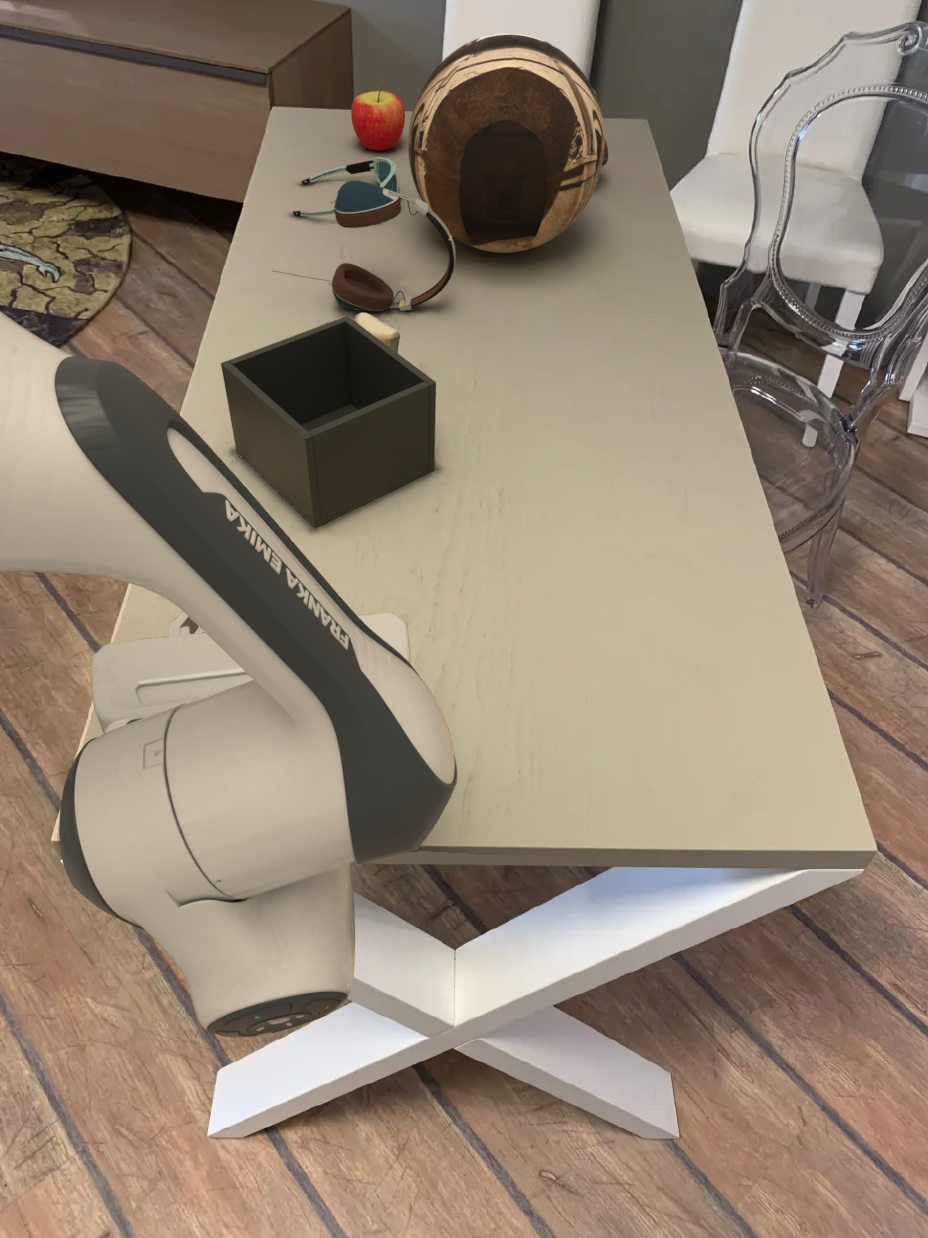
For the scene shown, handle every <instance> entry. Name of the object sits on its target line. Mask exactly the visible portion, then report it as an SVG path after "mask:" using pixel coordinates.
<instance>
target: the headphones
mask: <svg viewBox="0 0 928 1238" xmlns="http://www.w3.org/2000/svg"><path fill="white" fill-rule="evenodd" d="M401 199H403V200H406V201H407V206H408V211H409V215H411V216H415V215H417V214H418V213H420V214H421V215H422V216H423V217H426V218H427V219H428V220H429V221H430V222H431V224H432V225H433V227H434V228H435V229H436V230H437V232H438V233H439V234H440V236H441V239H442V241H444V244H445V246H446V249H447V252H448V257H449V258H448V265H447V269H446V270H445V272H444V274H443V276H442V277H441V278H440V280H439V281H438V282H437V283H436V284H435V285H434V286H433V285H432V287H431V288H429V289H428V290H426V291H424V292H423V293H421V294H419V295H417V296H415V297H411V296H409V297H405V294H404V292H403V291H402V290H398V292H397V293H396V294H394V291H393V289H392V288H391V287H390V285H389V284H387V283H386V282H385V281H384V280H383V279H381V278H380V277H378V276H377V275H375V274H374V273H372V272H371V271H369V270H367V269H365V268H363V267H361V266H359V265H356V264H354V263H349V262H344V263H341V264H339V265H337V267H336V269H335V271H334V274H333V276H332V280H327V279H324V281H326V282H328V285H329V286H330V287H331V290H332V295H333V296H334V299H335V301H336V302H337V303H338V304H339V305H340V306H342V307H344V308H346V309H349V310H354V311H368V312H369V311H370V312H372V311H376V312H377V311H380V312H381V311H386V310H388V309H399V311H400V312H403V311H408V310H409V311H410V310H412V308H413V307H416V306H419V305H422V304H425V303H426V302H428V301H429V300H432V299H433V298H434V297H436V296H437V295H438V294H440V293H442V291H443V289H444V288H445V287H446V286H447V285H448V283H449V282H450V280H451V278H452V275H453V274H454V270H455V266H456V246H455V242H454V238H453V236H452V235H451V234H450V232H449V230H448V229H447V227H446V226H445V224H444V223H443V222H442V220H441V219H440V218H439V217H438V216H437V215H436V214H435V213H434V212H433V211H432V210H430V209H429V208H428V204H427V203H425V202H423V201H422V200H421V198H416V199H414V198H413V197H410V196H409V195H405V194H403V193H400V192H399V193H396V192H393V191H391V190H388V189H386V188H383V187H380V185H377V184H375V183H371V182H367V181H363V180H349V181H346V182H344V183H343V184H342V185H341V186H340V187H339V189H338V190H337V192H336V195H335V198H334V199H332V200H330V204H333V208H334V211H335V214H334V215H335V216H334V217H335V220H336V223H337V224H338V225H339V226H340V227H343V228H347V229H357V228H365V227H371V226H375V225H379V224H382V223H386V222H387V221H388V222H389V221H390V220H392V219H395V218H396V217H397V216H399V215H400V213H401V211H402V203H401ZM410 203H412V204H414V205H413V207H414V209H416V210H417V211H416V212H415V213H412V211H411V208H410ZM273 272H275V273H278V270H277V271H275V270H273ZM279 273H281V274H287V275H290V273H289V272H282V271H279ZM291 275H292V276H296V277H299V275H298V274H294V273H291ZM300 277H301V278H308V279H310V277H308V276H302V275H300ZM311 279H313V280H317V277H316V278H315V277H311ZM319 280H320V281H323V279H322V278H318V281H319ZM400 292H401V294H402V296H403V299H402V300H400V301H399V304H396V303H395V304H393V303H394V301H395V300H396V298H397V296H398V295H399V293H400ZM394 295H395V296H394Z"/></svg>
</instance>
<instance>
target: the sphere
mask: <svg viewBox="0 0 928 1238" xmlns="http://www.w3.org/2000/svg"><path fill="white" fill-rule="evenodd" d="M593 89H594V88H593V86H592V85H591V83H590V80H589V79H588V78H587V76H586V75H585V73H584V72H583V70H582V69H581V68H580V67H579V66H578V64H577V63H576V62H575V61H574V60H573V59H572V58H571V57H570V56H569V55H568V54H566V53H565V52H564V51H562V50H561V49H560V48H559V47H557V46H555V45H553V44H552V43H549V42H548V41H545V40H543V39H541V38H538V37H535V36H532V35H528V34H522V33H513V32H505V33H502V32H501V33H494V34H493V33H492V34H490V35H489V34H488V35H485V36H481V37H479V38H476V39H472V40H471V41H469V42H467V43H465V44H463V45H461V46H460V47H458V48H457V49H455V50H454V51H452V52H451V53H450V54H449V55H447V56H446V57H445V58H444V59H443V60H442V61H441V62H440V63H439V64H438V65H437V66H436V68H434V70H433V71H432V72H431V74H430V75H429V76H428V78H427V79H426V81H425V82H424V84H423V86H422V88H421V90H420V92H419V94H418V96H417V99H416V101H415V104H414V106H413V110H412V114H411V117H410V121H409V122H410V123H409V130H408V140H407V148H408V149H407V151H408V162H409V168H410V173H411V176H412V181H413V183H414V186H415V189H416V192H417V194H418V195H419V199H420V200H421V201H423V202H425V203H427V204H428V208H429V209H430V210H432V211H433V212H434V213H435V214H436V215H437V216H438V217H439V218H440V219H441V220H442V222H443V223H444V224H445V226H446V227H447V229H448V230H449V232H450V234H451V236H452V238H455V239H456V240H458V241H459V242H461V243H463V244H465V245H468V246H470V247H473V248H475V249H477V250H482V251H485V252H490V253H498V254H499V253H501V254H502V253H503V254H504V253H505V254H508V253H519V252H523V251H529V250H530V249H534V248H537V247H540V246H542V245H544V244H546V243H548V242H549V241H552V240H553V239H555V238H556V237H557V236H559V235H560V234H562V233H563V232H564V231H566V229H568V228H569V227H570V226H571V225H572V224H573V223H574V222H575V221H576V219H577V218H578V217H579V216H580V214H581V213H582V212H583V211H584V209H585V208H586V207H587V204H588V203H589V201H590V199H592V198H591V197H592V195H593V193H594V191H595V189H596V187H597V184H598V182H599V179H600V175H601V171H602V167H603V166H602V163H603V157H604V144H605V140H606V138H605V127H604V120H603V114H602V110H601V106H600V103H599V100H598V96H597V97H596V95H595V93H594V91H595V89H594V90H593Z"/></svg>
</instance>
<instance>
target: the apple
mask: <svg viewBox="0 0 928 1238" xmlns="http://www.w3.org/2000/svg"><path fill="white" fill-rule="evenodd" d="M387 80H388V76H385V78H384V79H383V81H382V83H381V85H380V88H379V90H373V91H372V90H371V91H368V92H364V93H361V94H358V95H357V96H356V97H354V99H353V101H352V103H351V110H350V111H351V112H350V113H351V123H352V128H353V130H354V133H355V136H356V137H357V139H358V140H359V142H360V143H361V144H362V145H363V146H364V147H366V148H367V149H369V150H372V151H377V152H378V151H381V152H382V151H386V150H389V149H391V148H393V147H395V146H396V145H397V143H398V142H399V141H400V139H401V136H402V134H403V132H404V128H405V123H406V112H405V106H404V102H403V100H402V99H401V97H400V96H399V95H398V94H396V93H394V92H390V91H385V90H382V89H383V86H384V84H385V83H386V81H387Z"/></svg>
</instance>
